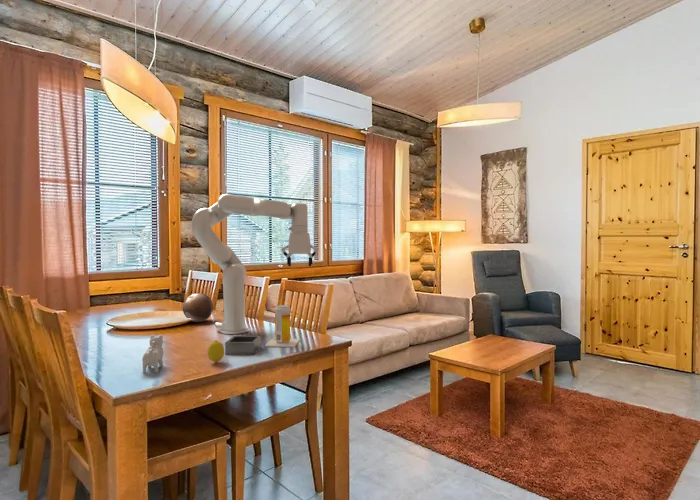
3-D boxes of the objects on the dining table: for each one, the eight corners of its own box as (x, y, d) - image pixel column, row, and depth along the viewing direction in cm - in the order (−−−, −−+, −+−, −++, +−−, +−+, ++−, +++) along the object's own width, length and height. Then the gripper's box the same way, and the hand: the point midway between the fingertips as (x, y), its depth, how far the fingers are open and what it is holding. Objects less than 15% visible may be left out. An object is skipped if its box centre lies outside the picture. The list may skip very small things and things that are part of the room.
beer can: (292, 340, 187) (292, 305, 186) (286, 344, 181) (285, 307, 180) (279, 339, 189) (279, 304, 188) (272, 343, 183) (272, 306, 182)
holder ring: (225, 354, 168) (225, 342, 168) (234, 347, 179) (233, 335, 179) (254, 354, 168) (254, 342, 167) (261, 347, 179) (261, 336, 178)
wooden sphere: (176, 323, 227) (176, 294, 226) (195, 318, 241) (194, 291, 241) (202, 325, 223) (201, 295, 222) (219, 320, 237) (218, 292, 236)
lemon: (209, 361, 159) (209, 338, 159) (225, 360, 159) (225, 338, 159) (206, 365, 154) (205, 342, 153) (222, 365, 154) (222, 342, 154)
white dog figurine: (166, 362, 157) (166, 332, 157) (158, 373, 145) (157, 340, 145) (150, 363, 156) (149, 333, 156) (140, 374, 144) (140, 341, 144)
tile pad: (265, 347, 179) (265, 345, 179) (271, 340, 191) (271, 338, 191) (294, 347, 178) (294, 345, 178) (299, 340, 190) (299, 338, 190)
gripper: (279, 229, 207) (280, 266, 207) (316, 229, 206) (317, 266, 206) (282, 230, 214) (283, 265, 215) (318, 229, 213) (318, 265, 214)
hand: (299, 266), depth 211 cm, fingers open, 9 cm apart
